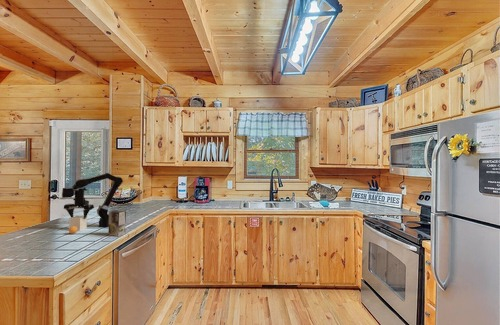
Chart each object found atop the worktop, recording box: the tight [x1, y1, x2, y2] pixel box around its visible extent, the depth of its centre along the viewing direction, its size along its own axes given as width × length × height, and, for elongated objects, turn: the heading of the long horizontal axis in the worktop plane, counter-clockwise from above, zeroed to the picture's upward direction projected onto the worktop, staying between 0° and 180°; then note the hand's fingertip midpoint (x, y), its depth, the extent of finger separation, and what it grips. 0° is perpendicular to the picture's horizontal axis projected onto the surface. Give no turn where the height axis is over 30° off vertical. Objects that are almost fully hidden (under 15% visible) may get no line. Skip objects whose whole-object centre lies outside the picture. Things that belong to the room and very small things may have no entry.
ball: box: [68, 226, 78, 235], centre depth 179 cm, size 5×5×5 cm
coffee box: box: [107, 209, 127, 237], centre depth 180 cm, size 9×6×16 cm
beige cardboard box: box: [68, 215, 88, 232], centre depth 190 cm, size 8×8×9 cm
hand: (78, 218), depth 190 cm, fingers open, 9 cm apart
